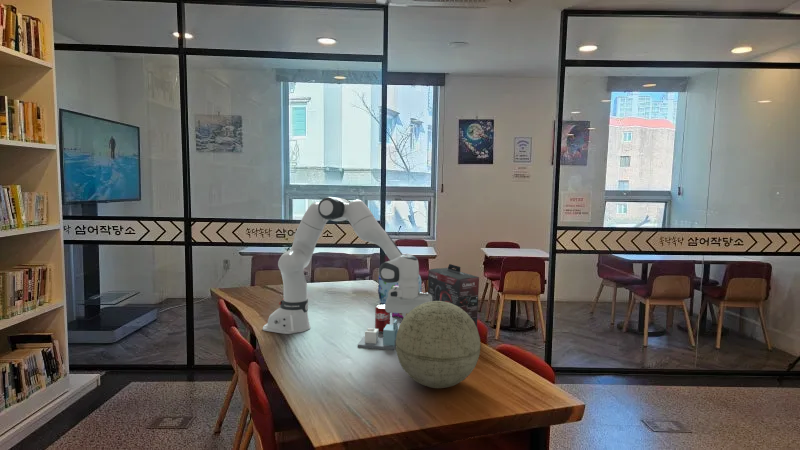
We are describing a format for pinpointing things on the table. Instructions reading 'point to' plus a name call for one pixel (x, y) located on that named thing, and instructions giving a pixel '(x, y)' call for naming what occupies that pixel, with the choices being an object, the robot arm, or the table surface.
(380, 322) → the soda can
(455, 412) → the table surface
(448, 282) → the headset box
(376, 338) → the jaw
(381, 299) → the lunch box
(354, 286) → the table surface
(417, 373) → the celestial globe
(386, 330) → the cover
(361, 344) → the plate
